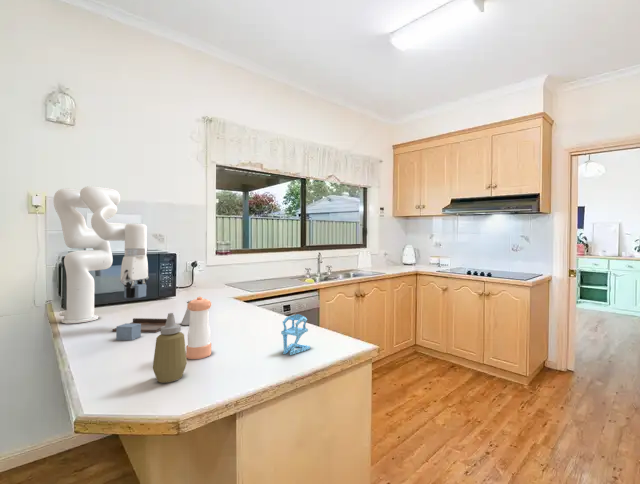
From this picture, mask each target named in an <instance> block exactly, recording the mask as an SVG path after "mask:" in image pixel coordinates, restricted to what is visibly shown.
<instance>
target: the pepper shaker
mask: <svg viewBox="0 0 640 484" xmlns="http://www.w3.org/2000/svg"><path fill="white" fill-rule="evenodd" d="M189 301H190V300H189ZM187 307H188V309H189V310H190V325H188V331H187V345H185V349H186V359H188V360H199V359H205V358H207V357H210V356H212V343H211V327H210V322H209V321H210V319H209V318H210V317H209V315H210V311H209V310H210V309H211V307H212V302H211V300H210V299H207V298H203V297H202V296H198V297H196V298H194V299H192V301H190V302H189V303H188V305H186V308H187Z"/></svg>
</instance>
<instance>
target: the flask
mask: <svg viewBox="0 0 640 484" xmlns="http://www.w3.org/2000/svg"><path fill="white" fill-rule="evenodd" d="M192 300H193V299H192ZM192 300H191V299H190V300H187V301H186V304H187V305H188V303H189V302H190V301H192ZM187 305H186V310H185V313H184V316H183V318H182V320H181V323H180V325H182V326H189V325H190V310H189V309H188V307H187Z"/></svg>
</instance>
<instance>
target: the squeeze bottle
mask: <svg viewBox="0 0 640 484" xmlns="http://www.w3.org/2000/svg"><path fill="white" fill-rule="evenodd" d="M166 319H167V321H166V324H165V326H163V327H161V330H160V334H159V335H158V336H157V337H156V339H155V345H154V352H153V354H154V355H153V362H152V371H153V373H154V375H155V379H156V382H157V383H160V384H161V383H163V384H164V383H165V384H166V383H171V382H175V381H178V380H180V379H181V378H182V377H183V375H184V373H185V369H186V367H187V365H188V360H187V359H188V358H187V357H186V341H185V334H184V332H181V324H177V323H176V318H175V315H174V312H169V313H167V317H166Z"/></svg>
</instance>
